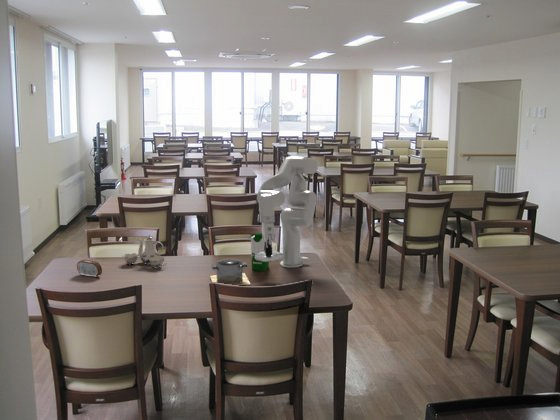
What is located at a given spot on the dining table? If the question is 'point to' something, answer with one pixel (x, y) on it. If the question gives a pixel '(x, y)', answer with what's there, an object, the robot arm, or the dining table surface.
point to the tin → (89, 267)
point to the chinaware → (147, 253)
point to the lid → (270, 258)
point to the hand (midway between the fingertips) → (268, 253)
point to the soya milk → (257, 247)
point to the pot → (230, 272)
